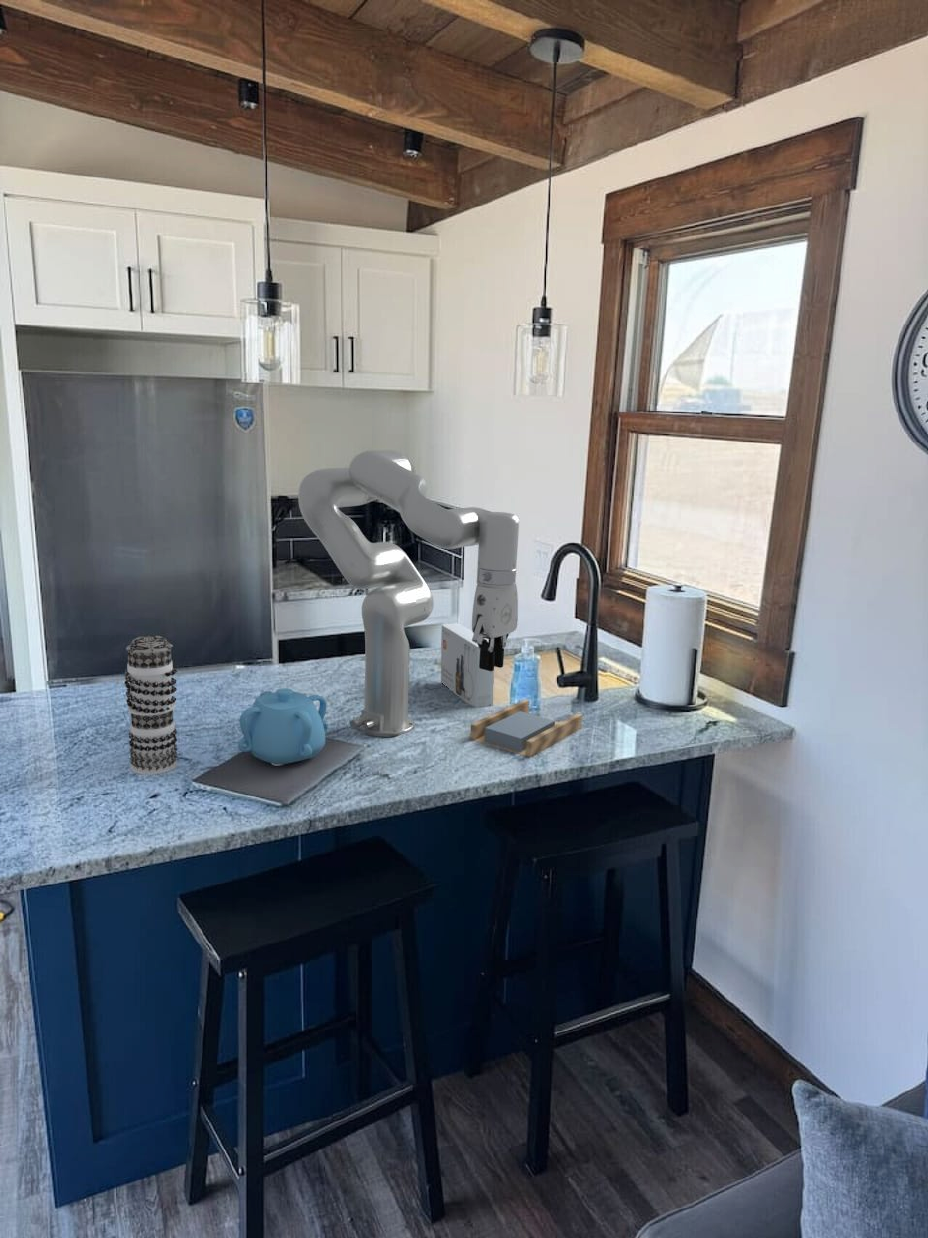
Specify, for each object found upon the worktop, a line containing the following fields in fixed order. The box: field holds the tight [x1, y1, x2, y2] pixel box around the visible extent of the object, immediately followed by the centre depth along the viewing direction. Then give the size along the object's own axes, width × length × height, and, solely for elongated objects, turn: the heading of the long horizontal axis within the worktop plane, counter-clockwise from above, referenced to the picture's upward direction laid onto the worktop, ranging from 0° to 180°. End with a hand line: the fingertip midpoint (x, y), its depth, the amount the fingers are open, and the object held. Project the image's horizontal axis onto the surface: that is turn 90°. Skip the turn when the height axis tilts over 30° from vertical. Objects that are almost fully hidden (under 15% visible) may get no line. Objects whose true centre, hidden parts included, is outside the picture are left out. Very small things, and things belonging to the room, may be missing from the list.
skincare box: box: [440, 622, 495, 708], centre depth 208 cm, size 21×6×16 cm, turn 25°
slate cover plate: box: [484, 711, 556, 752], centre depth 182 cm, size 14×9×3 cm, turn 144°
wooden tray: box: [469, 699, 583, 758], centre depth 184 cm, size 22×15×4 cm
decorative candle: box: [123, 635, 179, 776], centre depth 157 cm, size 9×9×25 cm
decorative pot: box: [237, 687, 329, 765], centre depth 167 cm, size 16×16×14 cm
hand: (491, 667), depth 167 cm, fingers open, 2 cm apart
